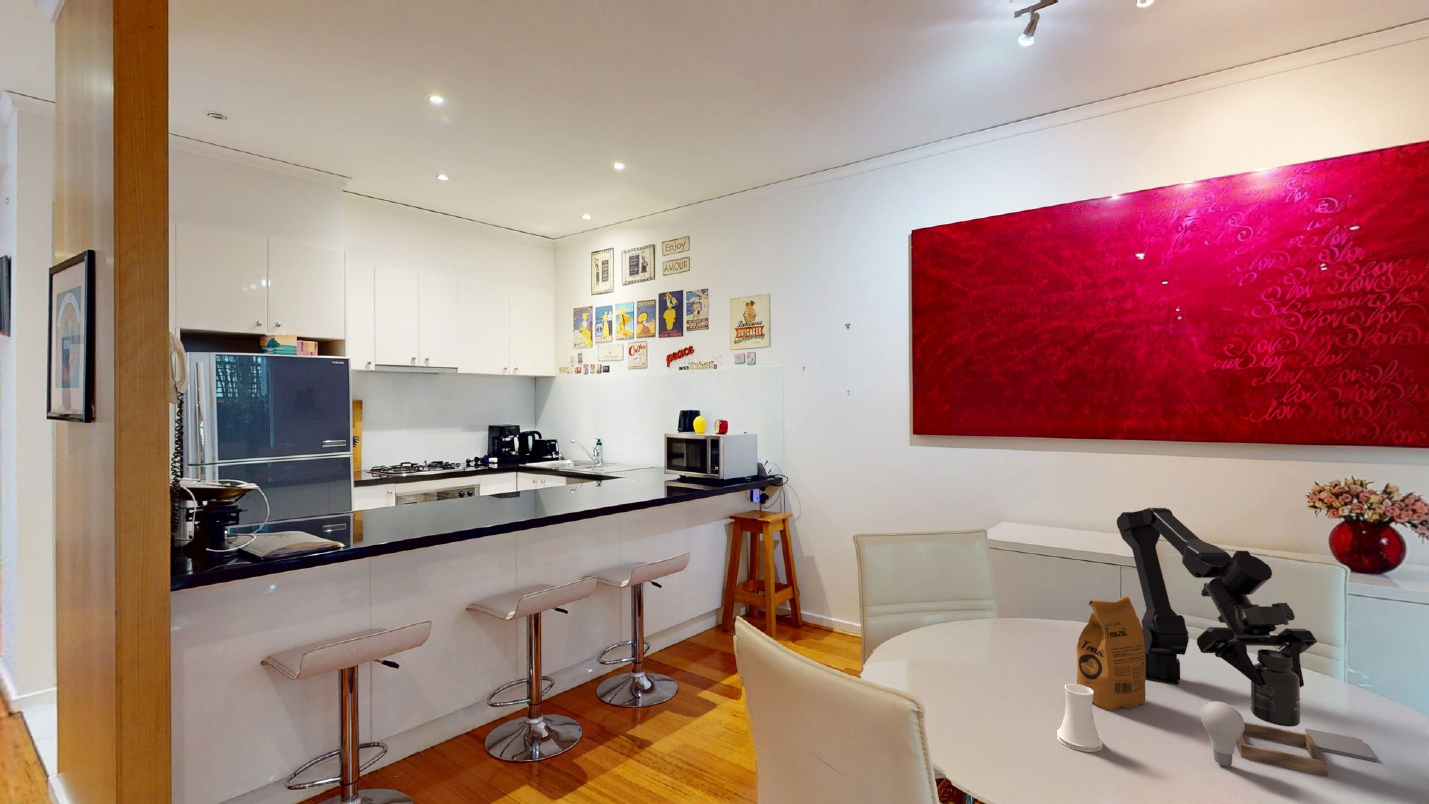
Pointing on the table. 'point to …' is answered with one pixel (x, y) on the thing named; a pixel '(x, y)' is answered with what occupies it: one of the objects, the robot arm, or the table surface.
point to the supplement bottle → (1276, 689)
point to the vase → (1079, 720)
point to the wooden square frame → (1311, 765)
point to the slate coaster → (1341, 744)
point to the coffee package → (1113, 655)
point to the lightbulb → (1222, 729)
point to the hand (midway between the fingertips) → (1281, 686)
